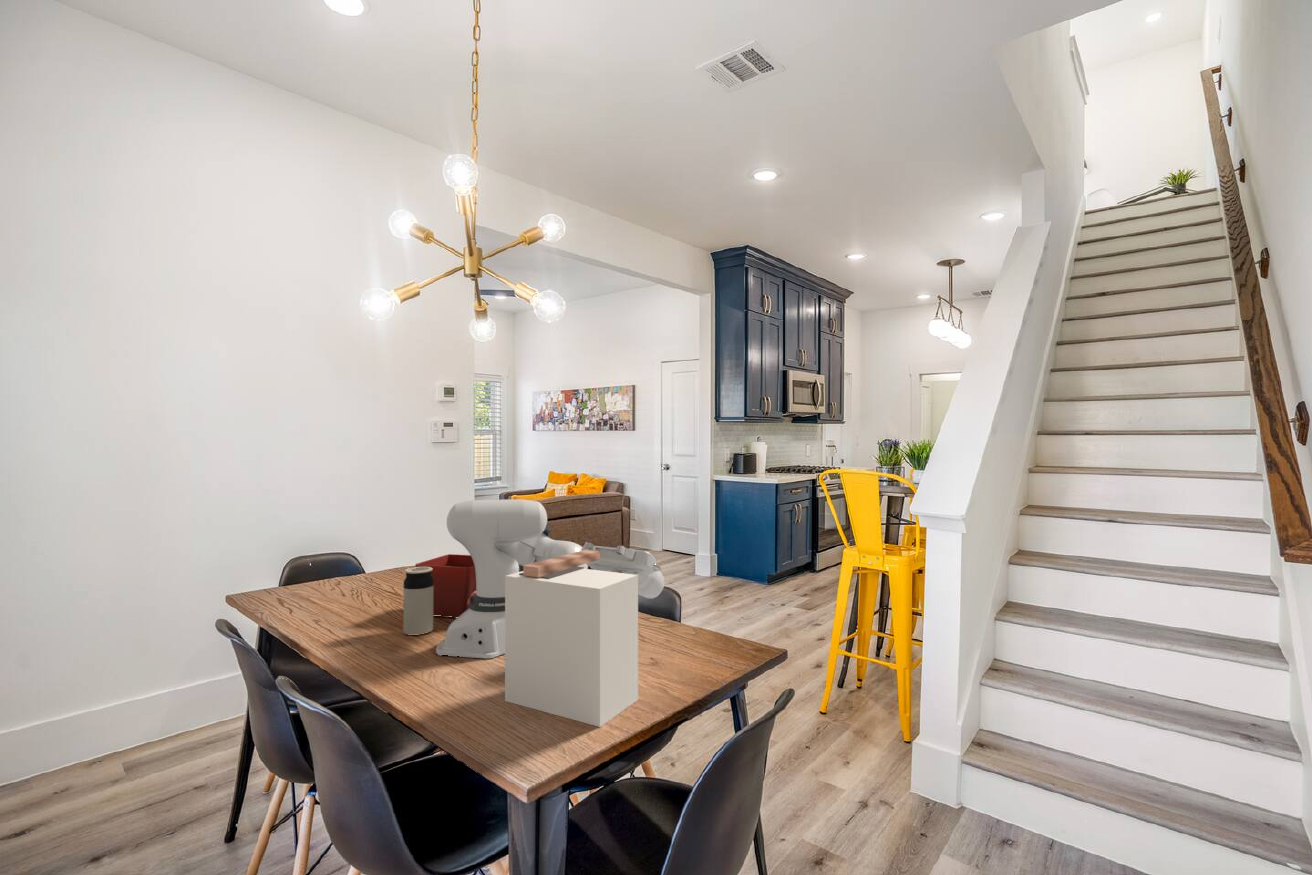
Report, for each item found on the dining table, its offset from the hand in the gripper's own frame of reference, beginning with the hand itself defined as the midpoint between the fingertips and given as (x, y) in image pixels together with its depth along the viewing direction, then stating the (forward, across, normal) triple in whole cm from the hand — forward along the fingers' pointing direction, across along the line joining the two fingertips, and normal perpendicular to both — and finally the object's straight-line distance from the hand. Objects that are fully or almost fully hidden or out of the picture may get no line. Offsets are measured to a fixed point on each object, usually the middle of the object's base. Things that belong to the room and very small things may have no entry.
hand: (602, 546), depth 145 cm
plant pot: (-28, +67, -17) cm, 75 cm away
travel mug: (-11, +61, -27) cm, 68 cm away
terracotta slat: (+11, 0, -9) cm, 15 cm away
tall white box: (+2, -6, -34) cm, 35 cm away
